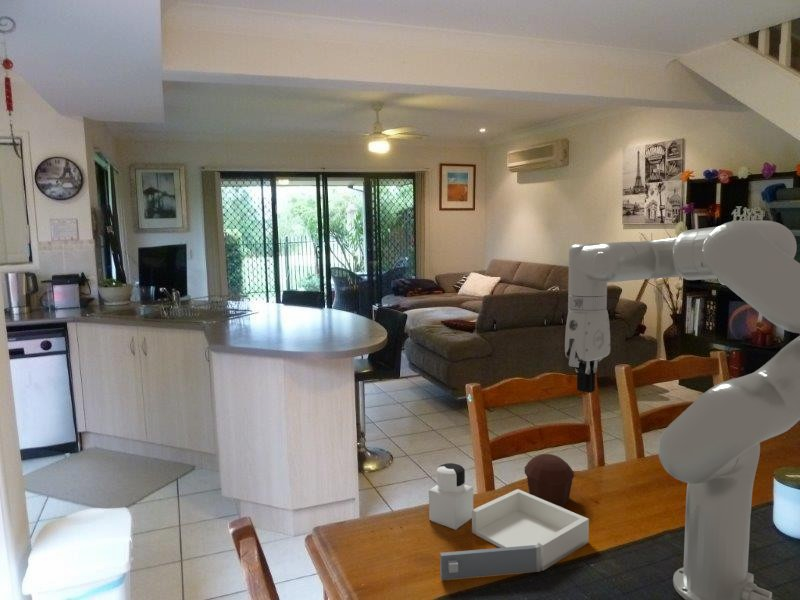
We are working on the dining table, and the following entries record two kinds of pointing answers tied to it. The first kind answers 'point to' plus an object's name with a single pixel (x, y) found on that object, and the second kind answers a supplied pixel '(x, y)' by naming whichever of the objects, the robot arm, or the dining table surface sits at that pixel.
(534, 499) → the case
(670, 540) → the dining table surface
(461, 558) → the side door
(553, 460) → the muffin
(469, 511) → the medicine bottle
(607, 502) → the dining table surface
